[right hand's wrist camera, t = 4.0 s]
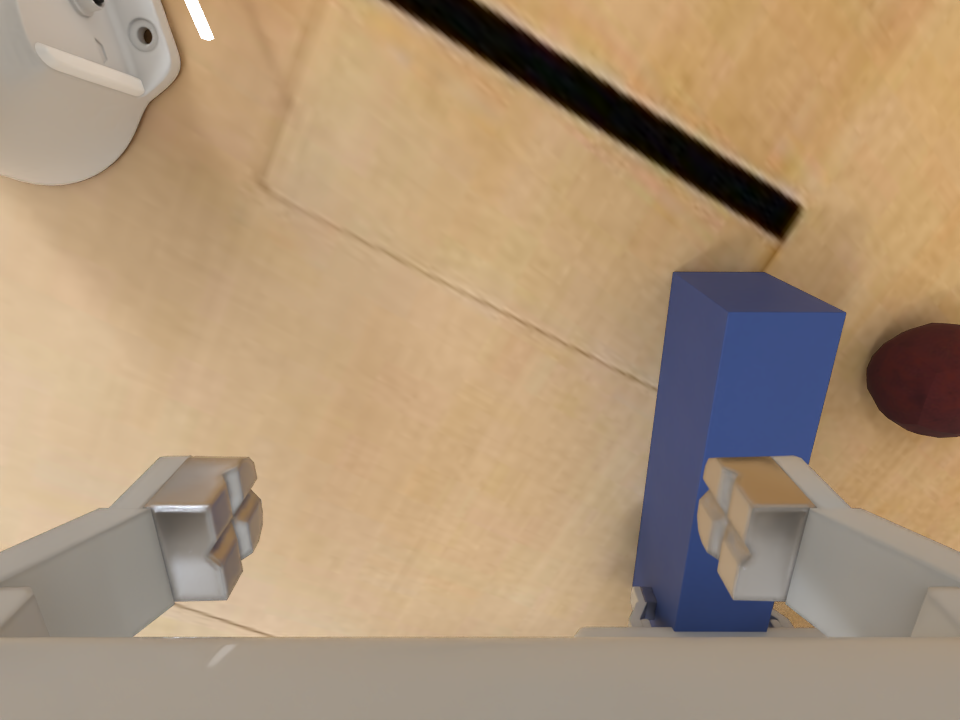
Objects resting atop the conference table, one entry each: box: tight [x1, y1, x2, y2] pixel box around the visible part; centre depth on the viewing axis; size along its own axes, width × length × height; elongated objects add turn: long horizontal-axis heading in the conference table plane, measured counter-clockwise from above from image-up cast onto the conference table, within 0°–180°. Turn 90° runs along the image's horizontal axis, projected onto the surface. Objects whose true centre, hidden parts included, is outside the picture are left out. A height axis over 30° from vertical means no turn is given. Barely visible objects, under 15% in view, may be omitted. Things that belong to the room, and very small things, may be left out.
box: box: [632, 272, 846, 632], centre depth 39 cm, size 27×6×9 cm, turn 0°
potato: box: [867, 323, 960, 438], centre depth 37 cm, size 7×8×7 cm
